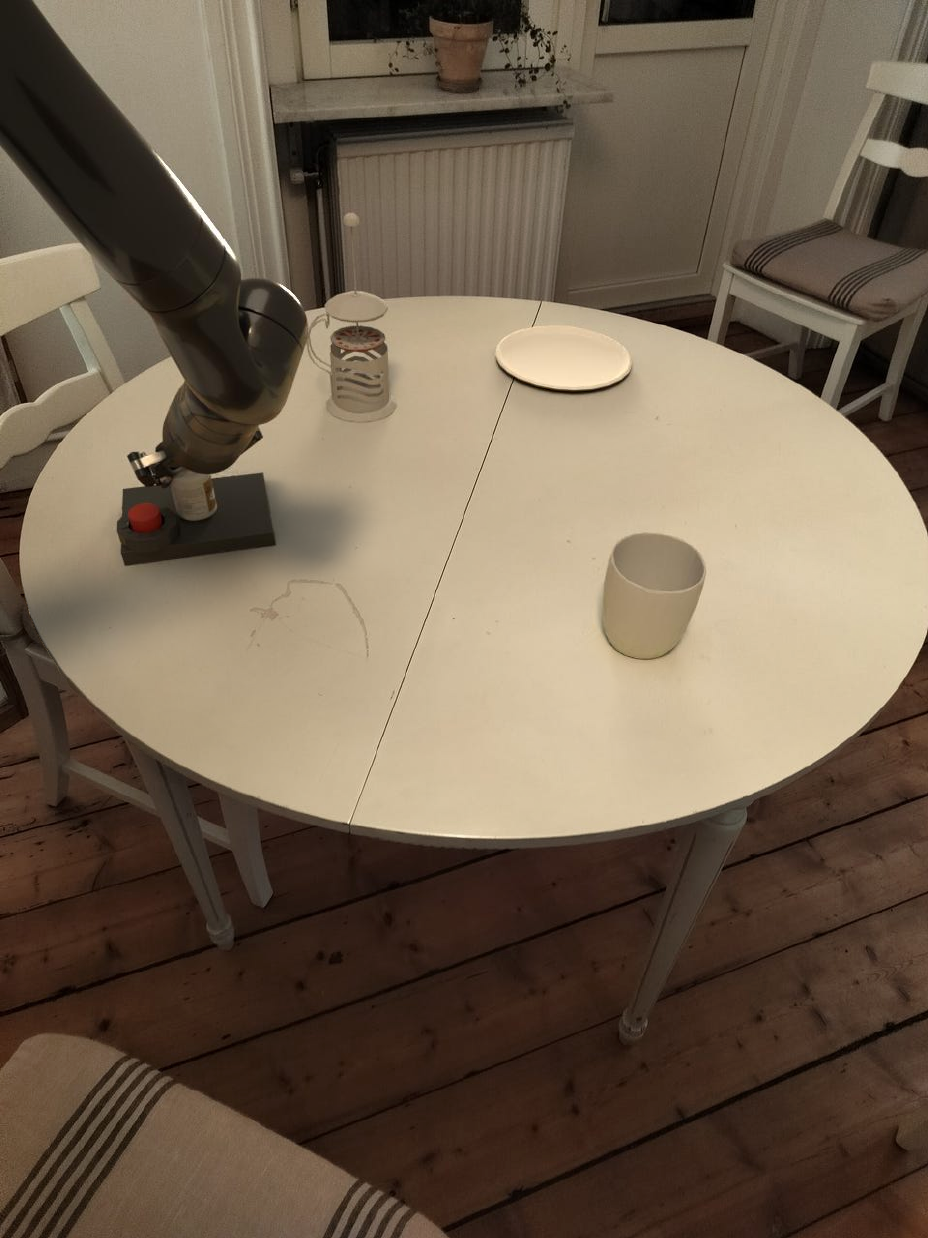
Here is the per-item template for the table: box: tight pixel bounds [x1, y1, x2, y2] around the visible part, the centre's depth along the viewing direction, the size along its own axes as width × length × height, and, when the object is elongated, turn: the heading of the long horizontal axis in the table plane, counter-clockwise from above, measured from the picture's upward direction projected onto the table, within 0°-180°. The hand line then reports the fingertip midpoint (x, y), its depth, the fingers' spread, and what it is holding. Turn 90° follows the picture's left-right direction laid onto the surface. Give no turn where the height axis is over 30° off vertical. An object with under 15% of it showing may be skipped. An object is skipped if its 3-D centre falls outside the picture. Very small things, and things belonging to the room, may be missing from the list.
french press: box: [306, 212, 398, 423], centre depth 107 cm, size 10×12×25 cm
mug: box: [602, 531, 707, 660], centre depth 82 cm, size 13×9×10 cm
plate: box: [494, 324, 633, 392], centre depth 126 cm, size 21×21×1 cm
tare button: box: [128, 503, 163, 533], centre depth 89 cm, size 3×3×2 cm
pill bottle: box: [170, 471, 217, 521], centre depth 91 cm, size 4×4×8 cm
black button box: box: [116, 472, 277, 567], centre depth 93 cm, size 16×12×4 cm
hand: (182, 471), depth 92 cm, fingers closed on pill bottle, 4 cm apart
